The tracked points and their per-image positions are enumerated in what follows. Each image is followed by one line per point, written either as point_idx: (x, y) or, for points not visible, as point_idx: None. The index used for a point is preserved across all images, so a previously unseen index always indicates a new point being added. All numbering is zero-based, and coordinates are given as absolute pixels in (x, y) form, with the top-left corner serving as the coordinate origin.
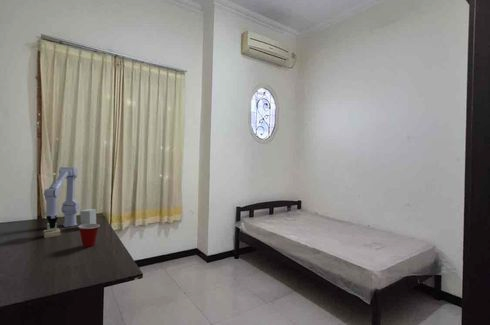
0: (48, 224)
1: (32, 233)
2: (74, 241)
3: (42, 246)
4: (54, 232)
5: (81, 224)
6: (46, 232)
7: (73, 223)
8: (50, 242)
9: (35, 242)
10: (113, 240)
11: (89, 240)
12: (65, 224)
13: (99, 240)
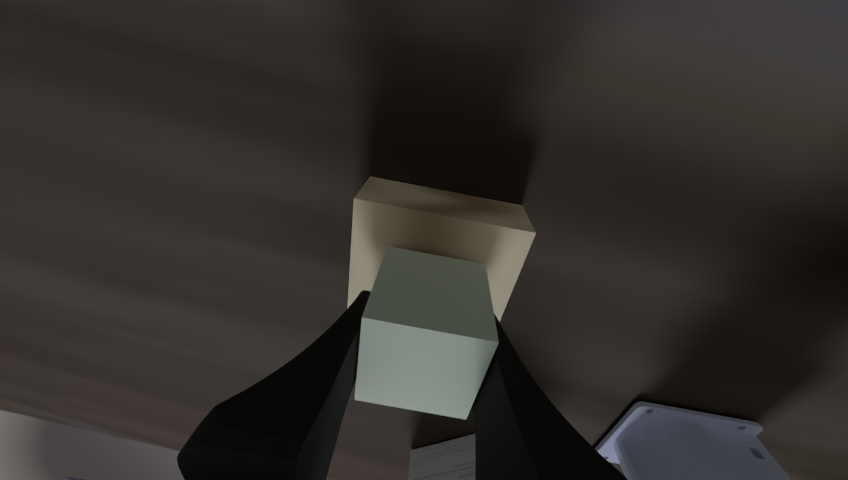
0: (372, 324)
1: (764, 136)
2: (90, 295)
3: (3, 56)
4: (350, 281)
5: (469, 469)
6: (387, 224)
7: (619, 460)
8: (144, 164)
9: (231, 39)
10: (28, 409)
11: None
12: (674, 427)
13: (55, 379)
